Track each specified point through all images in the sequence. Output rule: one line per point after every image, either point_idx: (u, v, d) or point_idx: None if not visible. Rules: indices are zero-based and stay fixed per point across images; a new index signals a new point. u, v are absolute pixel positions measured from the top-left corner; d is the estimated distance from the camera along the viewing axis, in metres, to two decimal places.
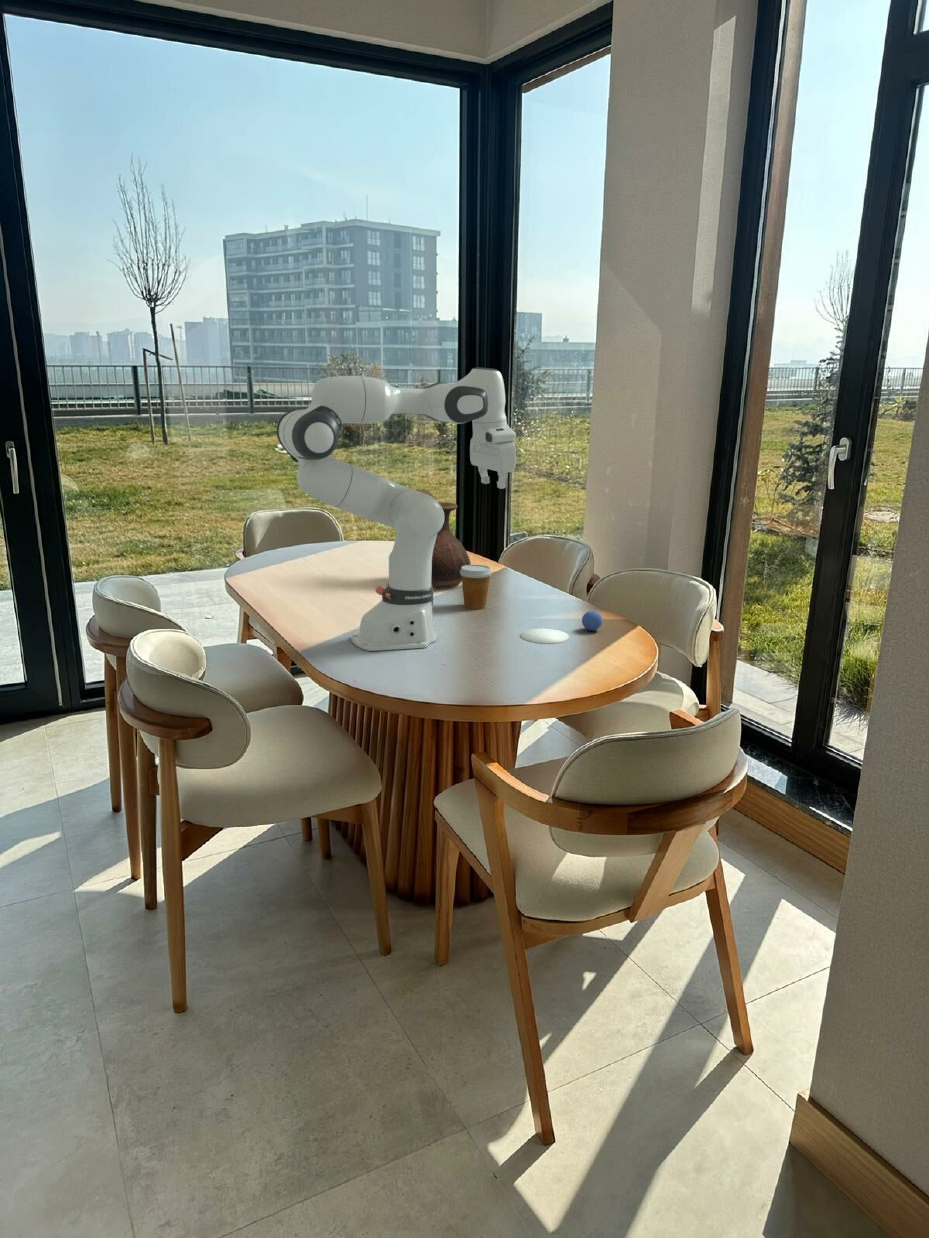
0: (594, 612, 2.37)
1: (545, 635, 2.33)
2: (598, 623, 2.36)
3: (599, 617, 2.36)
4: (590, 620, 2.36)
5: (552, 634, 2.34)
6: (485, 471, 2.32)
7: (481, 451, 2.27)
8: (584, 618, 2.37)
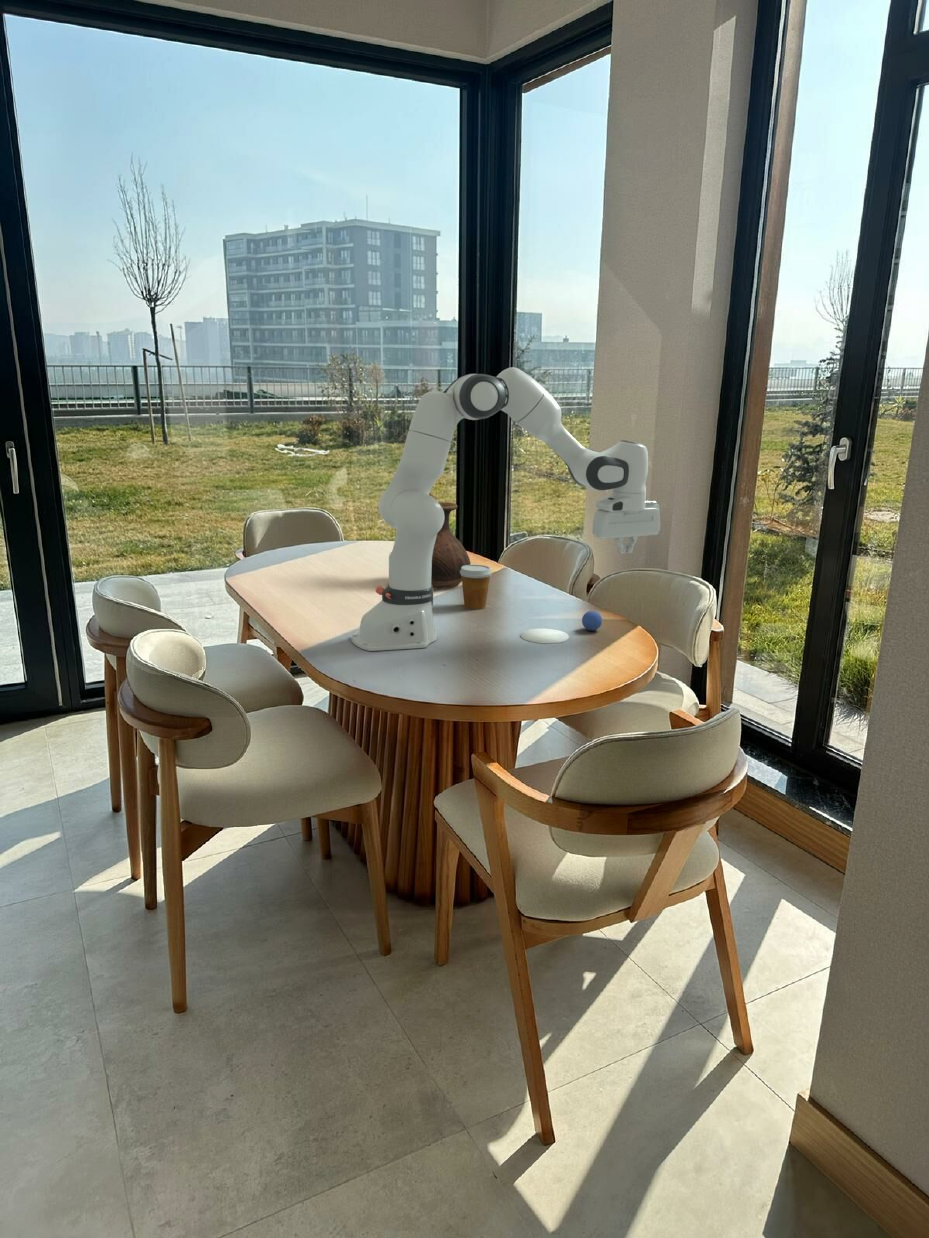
0: (594, 612, 2.37)
1: (545, 635, 2.33)
2: (598, 623, 2.36)
3: (599, 617, 2.36)
4: (590, 620, 2.36)
5: (552, 634, 2.34)
6: (633, 541, 2.37)
7: None
8: (584, 618, 2.37)
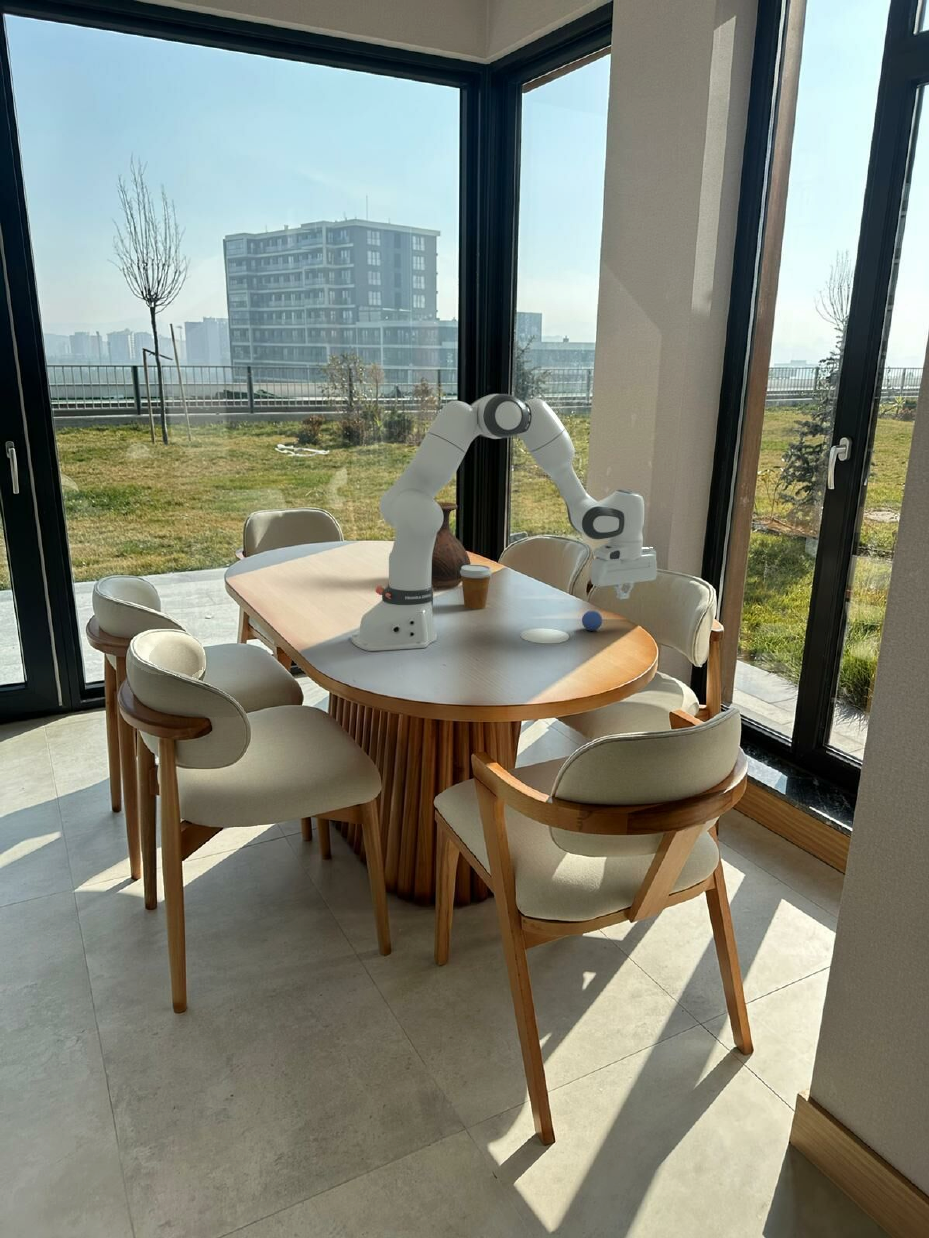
0: (594, 612, 2.37)
1: (545, 635, 2.33)
2: (598, 623, 2.36)
3: (599, 617, 2.36)
4: (590, 620, 2.36)
5: (552, 634, 2.34)
6: (629, 587, 2.40)
7: None
8: (584, 618, 2.37)
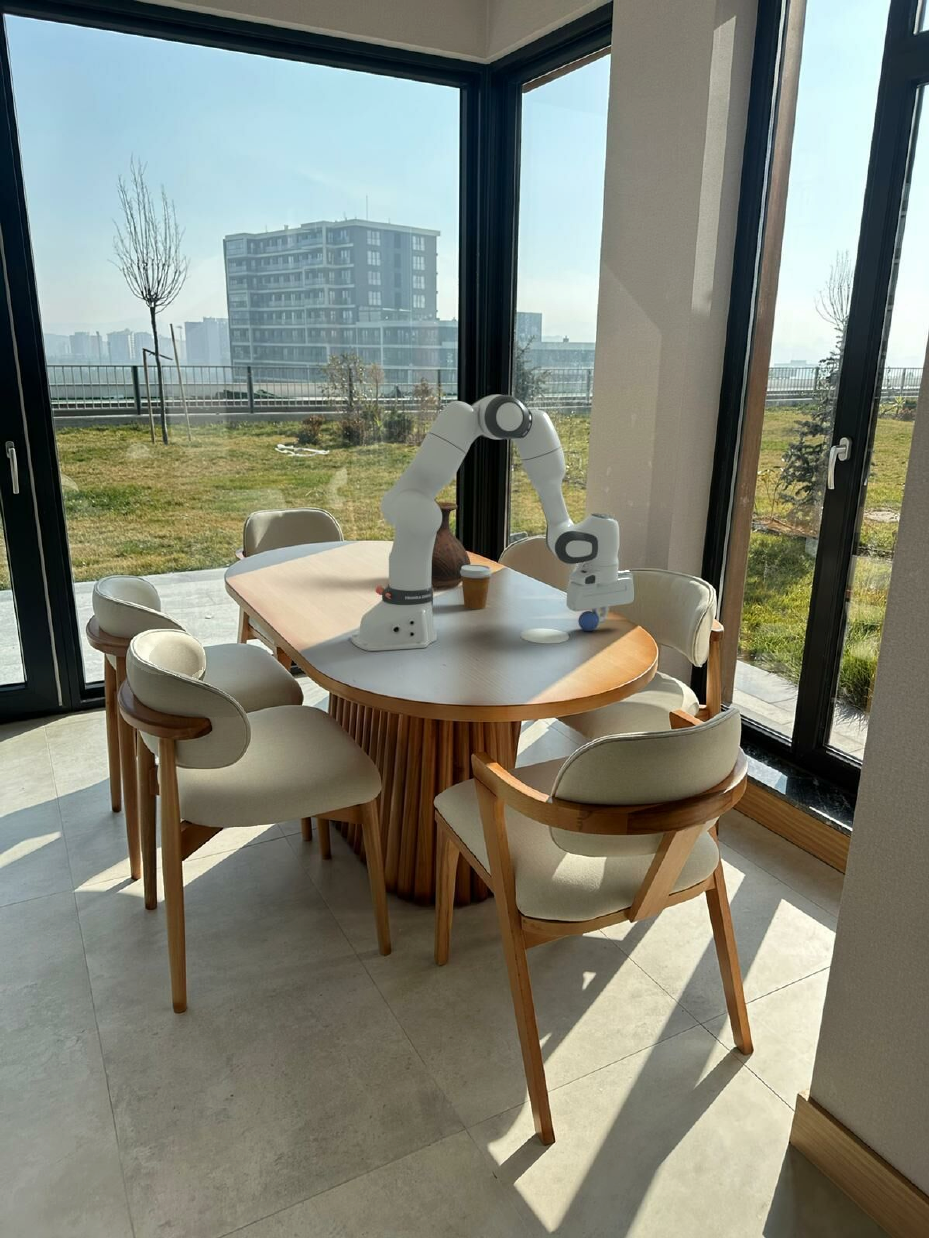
0: (587, 614, 2.36)
1: (545, 635, 2.33)
2: (595, 623, 2.36)
3: (594, 617, 2.36)
4: (585, 623, 2.35)
5: (552, 634, 2.34)
6: (605, 611, 2.39)
7: None
8: (580, 622, 2.37)
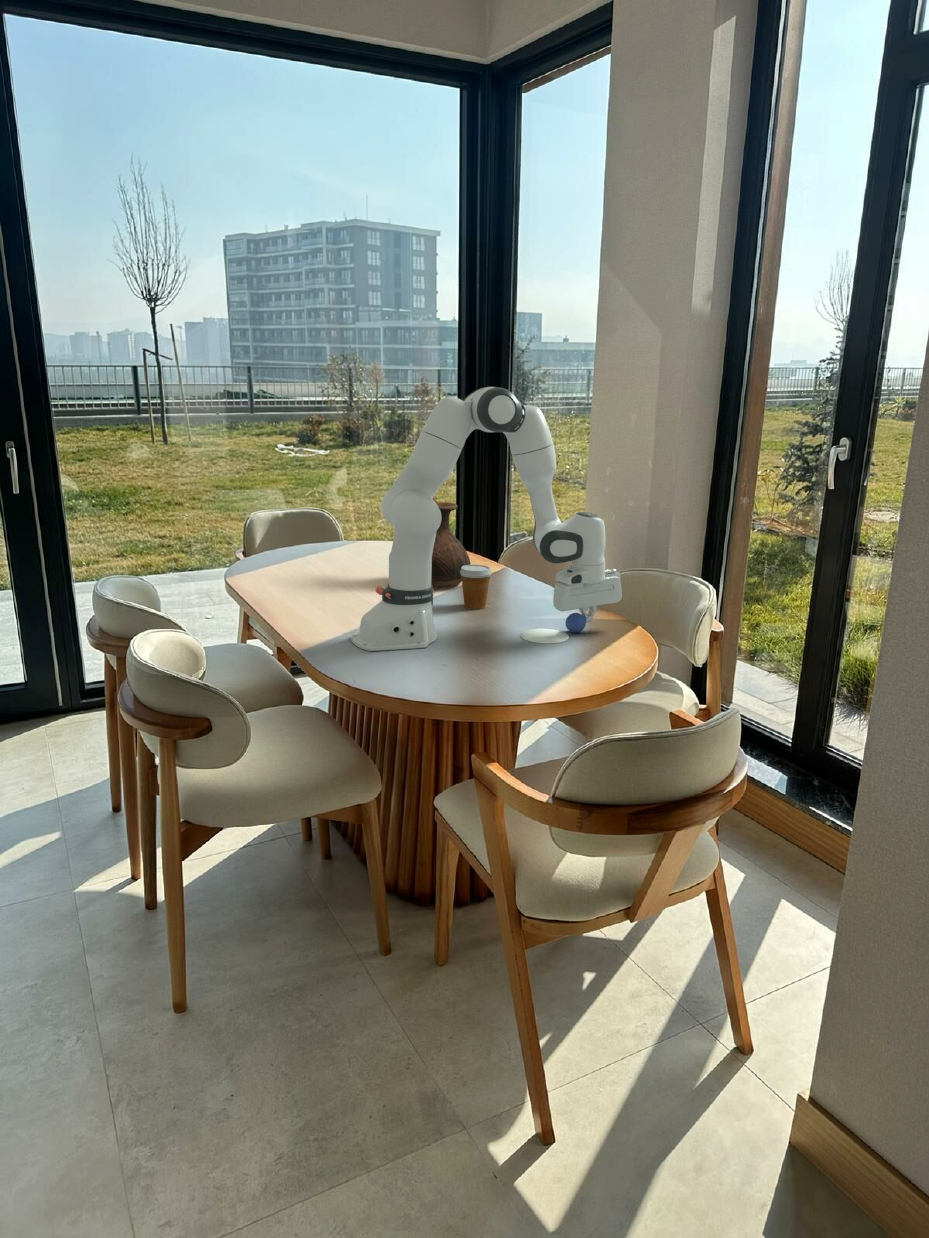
0: (571, 618, 2.34)
1: (545, 635, 2.33)
2: (581, 625, 2.34)
3: (578, 619, 2.33)
4: (572, 628, 2.34)
5: (552, 634, 2.34)
6: (592, 610, 2.37)
7: None
8: (567, 628, 2.35)
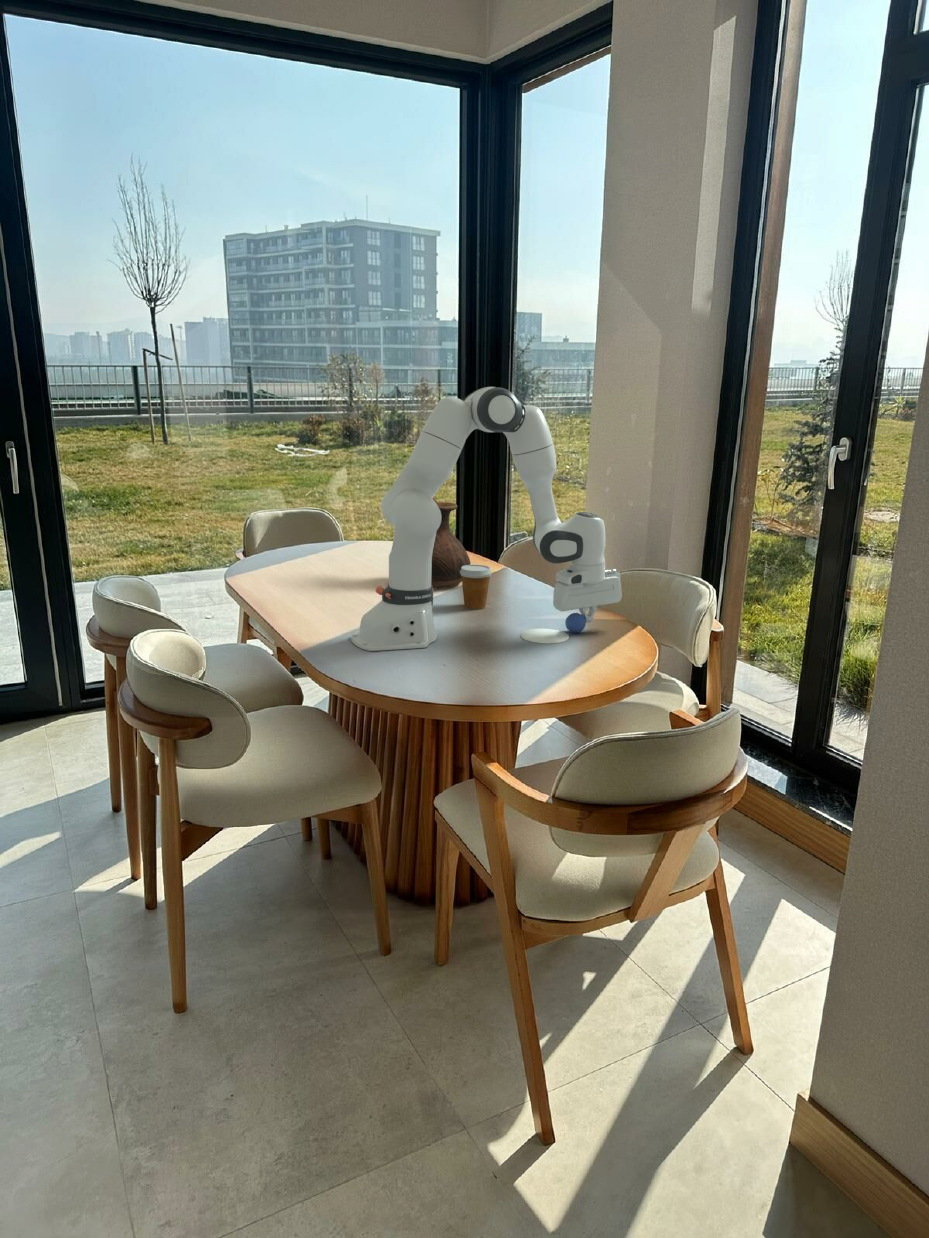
0: (571, 618, 2.34)
1: (545, 635, 2.33)
2: (581, 625, 2.34)
3: (578, 619, 2.33)
4: (572, 628, 2.34)
5: (552, 634, 2.34)
6: (592, 610, 2.37)
7: None
8: (567, 628, 2.35)
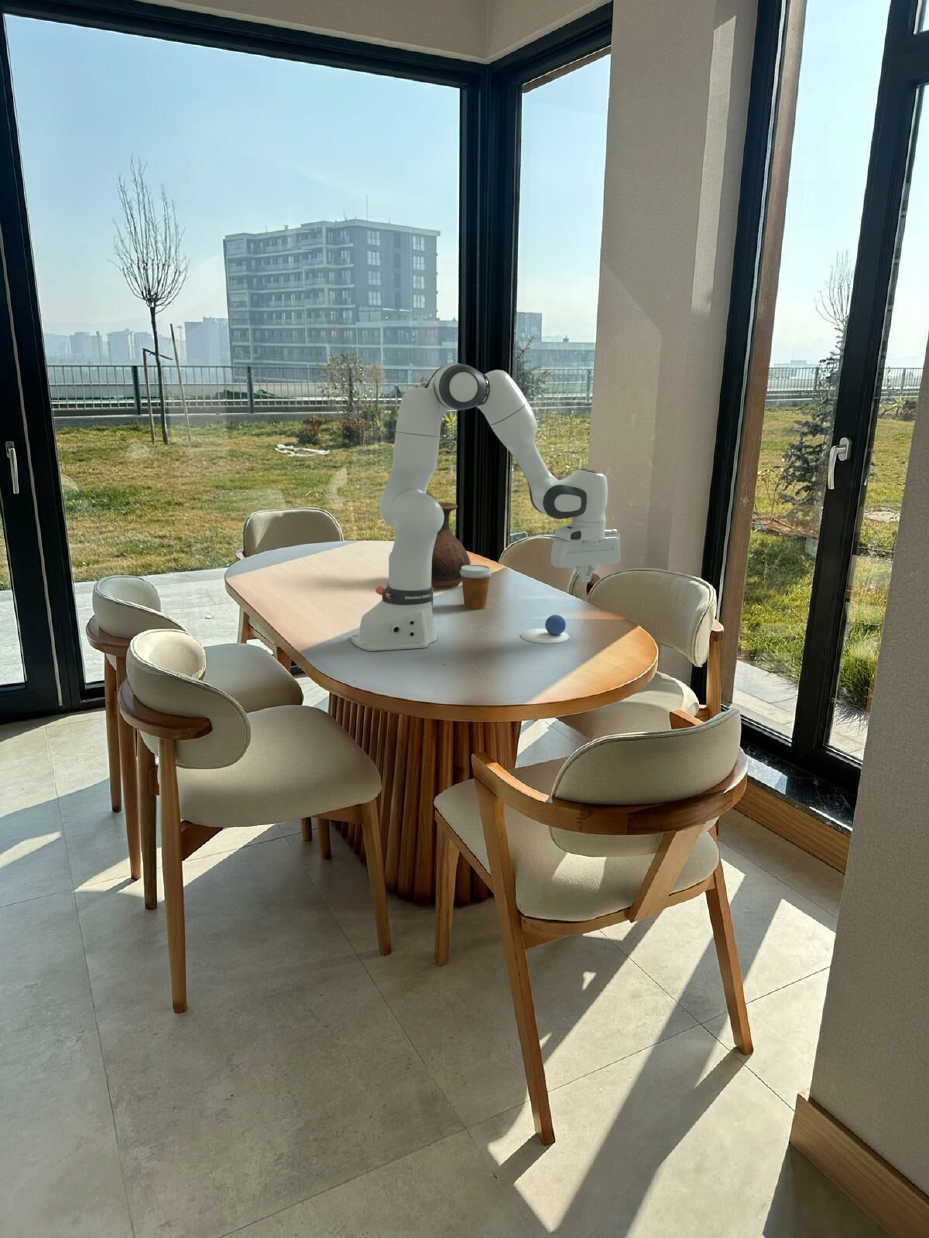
0: None
1: (545, 635, 2.33)
2: (559, 626, 2.31)
3: (556, 632, 2.32)
4: (564, 629, 2.33)
5: None
6: (591, 570, 2.33)
7: None
8: None
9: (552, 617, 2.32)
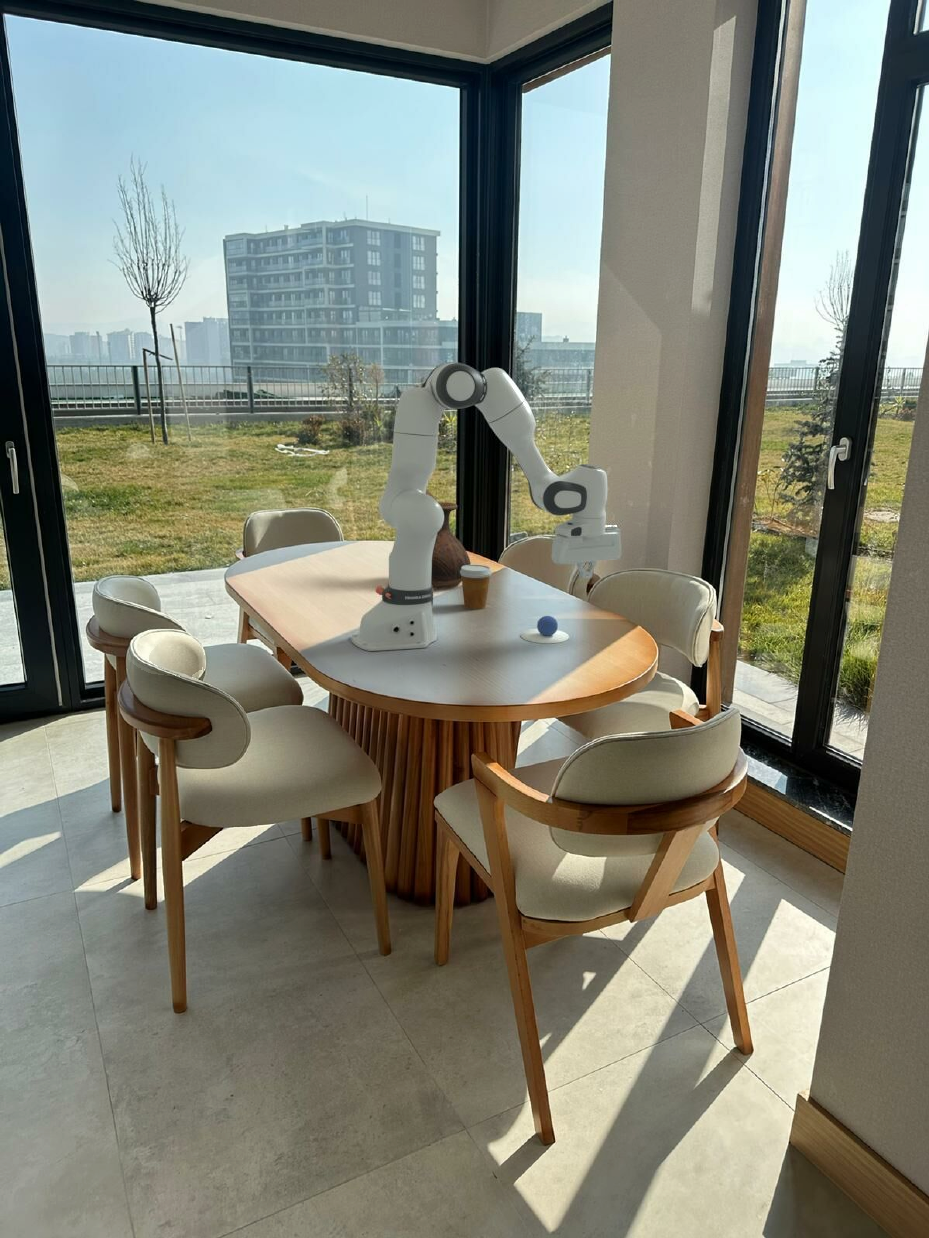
0: None
1: None
2: (551, 628, 2.30)
3: (552, 633, 2.31)
4: (556, 623, 2.31)
5: None
6: (592, 566, 2.33)
7: None
8: None
9: (539, 625, 2.31)
